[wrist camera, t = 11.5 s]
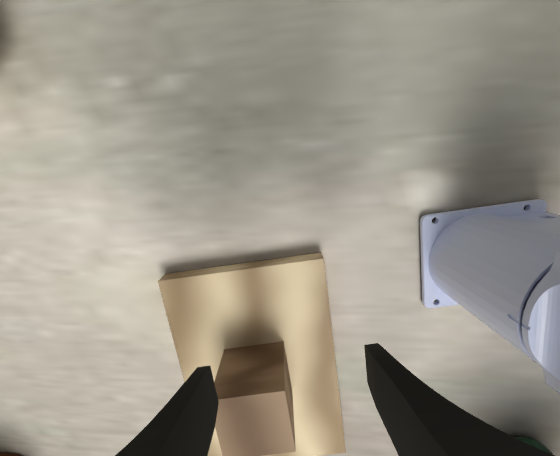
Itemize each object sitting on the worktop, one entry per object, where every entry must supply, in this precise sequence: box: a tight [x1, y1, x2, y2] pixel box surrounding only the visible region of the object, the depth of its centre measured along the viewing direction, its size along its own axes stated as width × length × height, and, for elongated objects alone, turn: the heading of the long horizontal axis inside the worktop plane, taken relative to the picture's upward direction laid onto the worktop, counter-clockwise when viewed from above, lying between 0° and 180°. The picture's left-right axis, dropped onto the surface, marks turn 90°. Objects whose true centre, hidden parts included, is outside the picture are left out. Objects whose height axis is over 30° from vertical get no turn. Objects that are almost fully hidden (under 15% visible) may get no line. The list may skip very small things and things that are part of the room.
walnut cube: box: [214, 341, 296, 456], centre depth 20 cm, size 5×5×5 cm
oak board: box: [158, 252, 346, 456], centre depth 23 cm, size 13×19×2 cm
